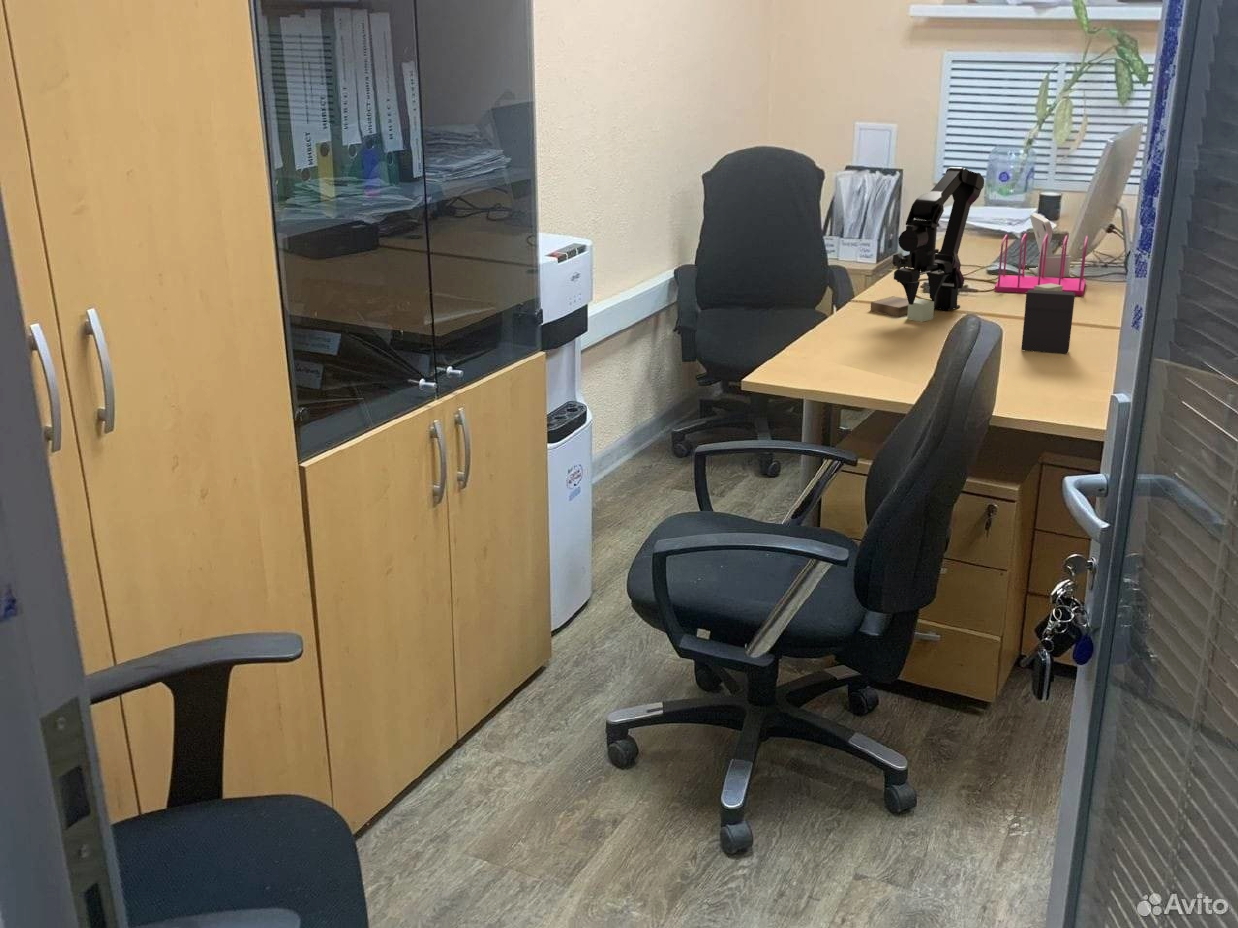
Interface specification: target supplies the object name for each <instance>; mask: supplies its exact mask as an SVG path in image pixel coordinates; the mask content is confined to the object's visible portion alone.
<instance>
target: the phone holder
mask: <svg viewBox="0 0 1238 928" xmlns="http://www.w3.org/2000/svg"><path fill="white" fill-rule="evenodd" d="M1029 215H1030V216H1029V217H1030V218H1029V219H1030V222H1031V226H1032V230H1033V233H1034V237H1035V240H1036V243H1037V247H1038V251H1039V255H1038V263H1037V264H1038V267H1036V268H1029V270H1030V272H1031V273H1032V272H1033V273H1032V274H1034V275H1035V276H1036V277H1039V267H1040V256H1041V247H1042V242H1043V240H1044V238H1045V235H1046V234H1048V242H1047V251H1046V260H1045V269H1044V277H1052V278H1059V274H1060V264H1061V255H1062V253H1060V254H1055V253H1053V249H1052V245H1051V240H1052V239H1053V227H1052V224H1051V222H1050V220H1049V219H1047V218H1046V217H1045V216H1042V215H1040V214H1039V213H1037V212H1036V213H1035V212H1034V213H1032V214H1029ZM1045 243H1046V241H1045ZM1045 243H1044V248H1043V256H1042V267H1041V277H1042V269H1043V261H1044V252H1045ZM1063 258H1064V254H1063ZM1071 260H1072V256H1071V255H1070V254H1066V257H1065V266H1064V275H1063V278H1070V277H1071V273H1070V270H1071ZM1062 267H1063V264H1062ZM1029 270H1028V271H1029ZM1061 276H1062V273H1061Z"/></svg>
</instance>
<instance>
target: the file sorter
mask: <svg viewBox="0 0 1238 928" xmlns="http://www.w3.org/2000/svg"><path fill="white" fill-rule="evenodd" d="M1027 235H1028V234H1027V233H1024V234H1023V236H1022V238H1021V241H1020V246H1019V258H1018V259H1019V261H1018V270H1017V271H1018V273H1017V274H1018V275H1009V274H1008V275H1007V274H1006V269H1007V257H1008V256H1007V255H1008V242H1009V235H1008V234H1005V235H1004V237H1003V238H1002V241H1001V245H1000V253H999V254H1000V256H999V264H998V265H999V267H998V274H997V275H998V277H997V282H996V284H995V285H994V290H993V291H994V292H997V293H999V292H1001V293H1022V294H1027V292H1028V290H1034V286H1036V285H1042V284H1048V283H1053V284H1057V285H1062V286H1063V290H1062V291H1063V292H1074V293H1075V297H1083V295H1084V292H1085V287H1086V278H1084V275H1085V274H1084V273H1085V264H1086V257H1087V249H1088V241H1089V236H1088V235H1086V236H1085V239H1084V244H1083V250H1082V256H1081V266H1080V273H1079V274H1080V275H1079V278H1071V277H1063V275H1064V266H1065V257H1066V255H1067V247H1068V237H1069V236H1068V235H1065V237H1064V239H1063V242H1062V248H1061V254H1062V255H1061V264H1060V274H1059V277H1044V269H1045V260H1046V251H1047V242H1048V234H1046V235H1045V238H1044V240H1043V242H1042V247H1041V256H1040V255H1039V256H1040V267H1039V277H1038V276H1032V275H1031V276H1028V275H1026V276H1025V269H1026V268H1025V265H1026V253H1027V240H1028V239H1027ZM1045 241H1046V243H1045ZM1004 243H1005V249H1004ZM1044 243H1045V252H1044V261H1043V269H1042V277H1041V267H1042V256H1043V248H1044ZM1023 244H1024V245H1023ZM1023 247H1024V248H1023ZM1003 250H1004V258H1003ZM1063 254H1064V258H1063ZM1022 255H1023V260H1022ZM1003 259H1004V260H1003ZM1003 261H1004V262H1003ZM1022 261H1023V263H1022ZM1002 263H1003V271H1002ZM1062 264H1063V267H1062ZM1021 269H1022V275H1021ZM1001 271H1002V272H1003V273H1001ZM1061 273H1062V276H1061Z"/></svg>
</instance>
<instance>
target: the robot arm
mask: <svg viewBox="0 0 1238 928" xmlns="http://www.w3.org/2000/svg"><path fill="white" fill-rule="evenodd" d="M936 183H937V184H935V185H934V187H933V188H932V189H931V190H930V191H929V192H927V193H923V194H921V195H920V196H919V197H917V198H916V199H915V200H914V202H913V203H912V204H911V207H910V209H909V212H908V216H907V218H906V221H905V230H904V231H902V232H901V233H900V235H899V236H898V241H897V242H898V245H899V247H900V248H901V250H902V251H904V252H909V253H908V254H906V255H903V253H901V252H900V253H896V254H894V255H893V254H892V266H894V267H896V270H895V271H893V280H895V281H896V282H897V283H900V285H902V286H903V289H904V292H905V295H906V299H908V302H909V304H910V305H913V303H914V300H916V297H917V293H918V291H919V286H920V283H921V281H920V278H921V276H922V275H926V276H927V281H928V287H929V291H928V293H929V299H931V301H934V310H935V309H936V310H941V311H950V310H954V309H958V308H961V304H958V298H959V297H958V296H959V295H958V294H959V290H960V289H963V287H964V284H965V277H964V275H963V273H962V271H961V268H962V267H961V266H962V265H961V260H960V258H959V251H960V246H961V244H962V240H963V235H964V233H965V228H966V225H967V221H968V217H969V214H970V209H971V206H972V205H973V204H974V203H975V202H976V201H977V200H978V199H979V198H980V195H981V193H982V190H983V189H984V186H985V178H984V177H983V176H982V174H981V173H980V172H973V171H972V170H969V169H967V168H965V167H960V166H959V167H958V166H950V167H947V168H946V170H945V174H944V175H943V176H942V177H941V179H940V180H938V182H936ZM951 196H952V199H953V204H952V208H951V210H950V215H949V217H948V222H947V225H946V229H945V232H944V237H943V240H942V244H941V248H940V250H939V248H936V246H937V231H938V227H940V219H941V217H942V216H943V215H942V214H943V213H944V211H945V209H944V205H945V203H946V202H947V201H948V199H949V198H950V197H951Z"/></svg>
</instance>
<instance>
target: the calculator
mask: <svg viewBox="0 0 1238 928" xmlns="http://www.w3.org/2000/svg"><path fill="white" fill-rule="evenodd" d="M1025 294H1026V295H1025V303H1024V304H1025V305H1024V317H1023V318H1024V319H1023V329H1022V336H1021V337H1022V339H1021V351H1022V350H1025V351H1024V352H1033V351H1034V352H1036V353H1047V354H1059V355H1067V354H1068V353H1069V351H1070V341H1071V333H1072V325H1073V323H1072V322H1073V318H1074V316H1073V315H1074V307H1075V298H1076V296H1075V293H1074V292H1063V291H1046V290H1028V292H1027V293H1025Z"/></svg>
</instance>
